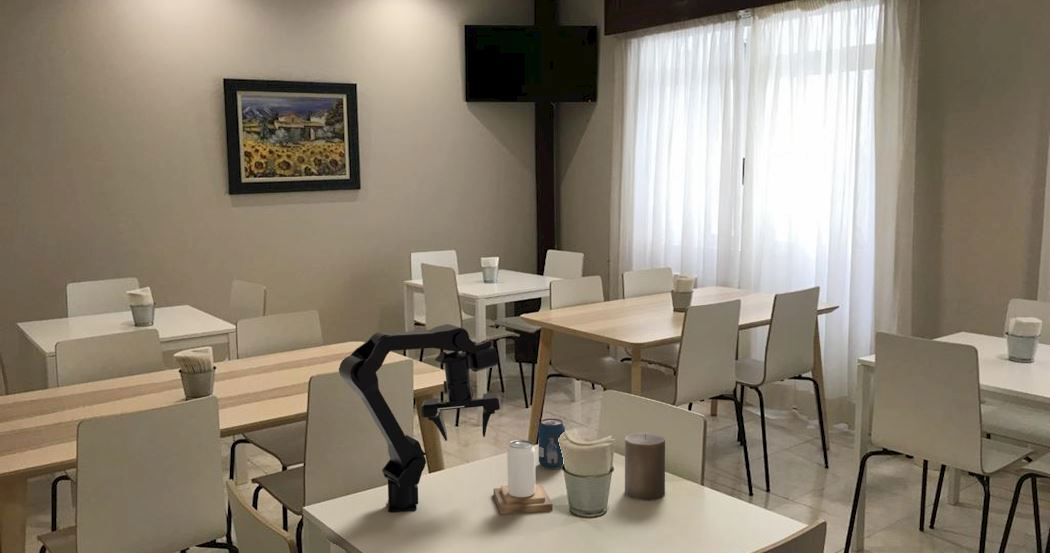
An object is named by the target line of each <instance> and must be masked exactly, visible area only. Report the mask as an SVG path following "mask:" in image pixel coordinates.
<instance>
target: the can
mask: <svg viewBox="0 0 1050 553" xmlns="http://www.w3.org/2000/svg"><path fill="white" fill-rule="evenodd" d="M506 458H507V486H508V493H509V494H510V495H511V496H512V497H516V498H527V497H530V496H532V495H533V494H534V493H535V484H536V449H535V447H534V443H533V442H532V441H530V440H525V439H518V440H512V441H510V442H509V444H508V448H507V457H506Z"/></svg>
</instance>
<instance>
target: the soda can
mask: <svg viewBox="0 0 1050 553" xmlns="http://www.w3.org/2000/svg"><path fill="white" fill-rule="evenodd" d="M563 432H565V433H566V427H565V426H564V423H563V420H561V419H557V418H545V419H541V421H540V425H539V426H538V463H539V465H540V466H541V468H543V467H544V468H543V469H545V468H547V470H557V469H556V468H558V469H561V468H562V467H563V466H562V465H564V464H563V457H562V453H561V449H560V446H559V442H558V438H559V437H560V435H561V434H562V433H563ZM561 466H562V467H561ZM560 467H561V468H560Z"/></svg>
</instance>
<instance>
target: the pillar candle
mask: <svg viewBox="0 0 1050 553" xmlns="http://www.w3.org/2000/svg"><path fill="white" fill-rule="evenodd" d="M625 436H626V437H625V438H624V441H625V442H624V494H625V495H626V496H627V497H629V498H631V499H635V500H639V501H640V500H642V501H655V500H659V499H662V498H663V497H664V496H665V495H666V438H665V437H664V436H663V435H660V434H656V433H651V432H637V433H631V434H628V435H625Z"/></svg>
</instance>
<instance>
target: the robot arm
mask: <svg viewBox="0 0 1050 553" xmlns="http://www.w3.org/2000/svg"><path fill="white" fill-rule="evenodd" d="M471 339H472V338H470V334H469V332H468V331H467V330H466V328H463V327H460V326H457V325H453V324H449V323H447V324H446V323H445V324H443V325H439V326H438V325H437V326H435V327H432V328H431V329H428V330H416V331H415V330H413V331H397V332H381V331H380V332H375V333H374V334H372V336H371V337H370V338H369V339H368V340H367V341H365V342H364V343H363V344H361V345H360V346H359V347H357V348H355V349H354V350H353V352H352V353H351V354H350V355H348V356H346V357H345V358H344V359H342V361H341V362H340V364H339V367H338V373H339V375H340V377H341V378H342V379H343V380H344V381H345V382H346V384H347V385H348V386H349V387H350V388H351V389H352V390H353V391H354V392H356V394H358V396H360V398H361V400H362V402H363V404H364V405H365V407H366V408H367V410H368V412H369V413H370V416H371V417H372V419H373V422H375V424H376V426H377V427H378V429H379V431H380V433H381V434H382V437H383V438H384V439H385V441H386V443H387V452H388V456H389V460H388V462H387V463H386V464H385V465H384V467H383V468H382V470H381V472H382V474H383V477H384V478H385V479H387V494H388V495H387V512H389V513H392V512H393V513H394V512H407V511H416V510H417V509H418V507H417V505H419V486H418V485H419V484H420V481H421V477H422V473H423V471H424V469H425V467H426V465H427V459H426V456H427V453H426V452H425V451H424V450H423V449H422V446H421V443H420V442H419V440H417V439H415V438H413V437H411V436H410V435H408V434H405V432H404V431H403V429H402V428H401V425H400V424H399V422H398V420H397V419H396V417H395V415H394V414H393V412H392V410H391V408H390V406H389V405H388V403H387V401H386V400H385V397H384V396H383V394H382V392H381V390H380V387H379V386H380V385H379V379H378V375H377V372H378V371H379V370H380V369H381V368H382V365H383V363H384V362H385V360H386V358H387V355H388V354H389V353H390V352H392V351H393V352H394V351H395V352H396V351H410V350H421V349H422V350H424V349H435V350H436V349H438V350H442V351H440V352H439V354H438V355H437V356H436V357H435V359H434V361H435V362H437V363H439V364H444V372H445V380H444V381H443V392H444V394H446V395H447V398H448V401H442V402H441V401H440V398H439V397H437V398H426V399H424V400H423V402H422V405H421V407H420V412H421V417H422V418H427V420H428V421H432V422H433V423H434V424H435V426H436V427H437V430H438V431H439V432H440V434H441V435H442V437H443V440H444V441H445V442H446V441H448V434H447V433H448V432H447V428H446V425H445V424H446V423H445V420H444V414H443V411H447V410H448V411H449V410H457V409H458V410H460V409H467V408H469V409H471V408H480V407H482V430H481V431H482V437H483V438H486V433H487V426H488V424H489V420H490V418H491V415H493V414H495V413H496V411H499V410H501V394H499V393H498V392H487V393H483V394H482V397H481V398H474V389H473V383H472V381H471V375H470V370H471V371H472V372H474V373H476V372H477V373H478V372H481V371H484V370H487V369H490V368H494V367H497V365H498V363H499V355H498V353H497V350H496V348H495V347H494V346H493V344H492V343H493V341H492V340H489V339H484V340H482V341H480V342H477V343H475V342H474V341H473V340H471ZM445 351H449V352H448V353H447V352H445Z"/></svg>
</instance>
